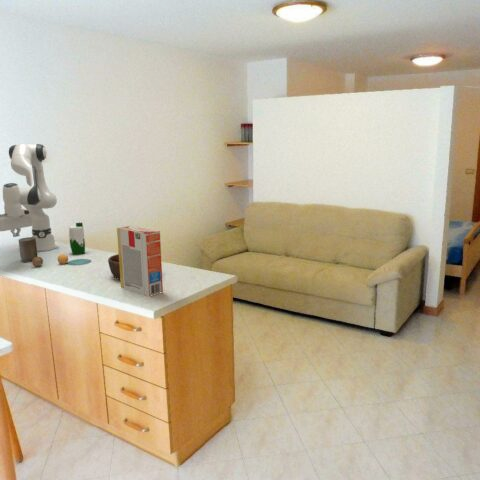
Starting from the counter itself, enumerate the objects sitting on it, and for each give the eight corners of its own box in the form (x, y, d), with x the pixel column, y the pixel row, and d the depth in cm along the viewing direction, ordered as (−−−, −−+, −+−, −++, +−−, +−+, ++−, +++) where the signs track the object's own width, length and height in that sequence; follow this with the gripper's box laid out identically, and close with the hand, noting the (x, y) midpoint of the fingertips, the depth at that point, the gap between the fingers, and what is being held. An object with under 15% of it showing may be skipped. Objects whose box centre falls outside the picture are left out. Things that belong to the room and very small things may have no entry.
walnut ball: (32, 265, 269) (31, 256, 268) (43, 264, 272) (42, 254, 270) (32, 268, 264) (31, 258, 263) (43, 267, 266) (42, 257, 265)
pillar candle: (41, 258, 286) (38, 235, 283) (32, 262, 277) (29, 238, 274) (26, 258, 287) (23, 235, 284) (17, 262, 278) (14, 238, 275)
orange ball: (57, 263, 275) (56, 253, 273) (68, 262, 277) (67, 252, 276) (58, 265, 269) (57, 255, 268) (69, 264, 272) (68, 254, 270)
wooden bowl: (145, 283, 234) (144, 264, 231) (100, 281, 239) (99, 262, 236) (163, 270, 258) (162, 252, 255) (122, 268, 262) (121, 250, 260)
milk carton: (86, 254, 296) (83, 223, 292) (71, 255, 293) (68, 225, 289) (84, 251, 304) (82, 221, 300) (70, 252, 301) (67, 222, 296)
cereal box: (162, 292, 219) (159, 231, 213) (149, 296, 213) (145, 233, 207) (134, 283, 234) (130, 225, 228) (120, 287, 228) (116, 228, 222)
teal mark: (66, 260, 280) (66, 260, 280) (90, 258, 285) (90, 258, 285) (67, 266, 268) (67, 265, 267) (92, 263, 273) (92, 263, 273)
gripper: (-1, 215, 247) (2, 240, 250) (32, 210, 264) (35, 233, 267) (-8, 214, 250) (-5, 239, 253) (26, 209, 267) (28, 232, 270)
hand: (16, 236), depth 260 cm, fingers closed
